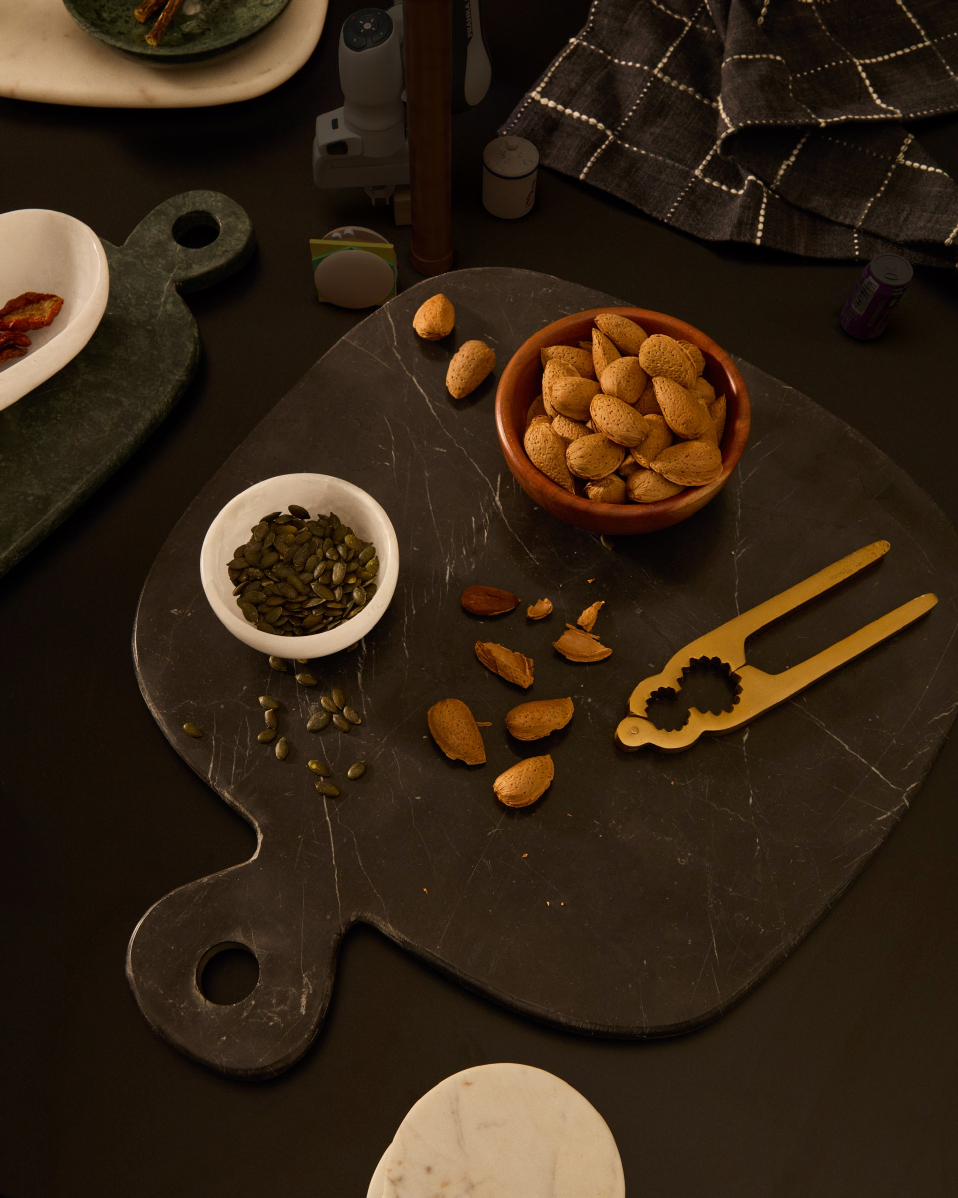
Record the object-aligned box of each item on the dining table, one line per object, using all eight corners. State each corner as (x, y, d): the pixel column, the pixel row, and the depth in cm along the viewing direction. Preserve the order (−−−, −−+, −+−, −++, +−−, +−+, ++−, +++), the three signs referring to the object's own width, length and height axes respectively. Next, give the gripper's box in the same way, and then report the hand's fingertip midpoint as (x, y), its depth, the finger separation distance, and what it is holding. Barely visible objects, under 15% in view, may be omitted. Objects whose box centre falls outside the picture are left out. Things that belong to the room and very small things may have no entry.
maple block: (391, 198, 161) (390, 173, 156) (428, 195, 161) (427, 170, 157) (395, 225, 158) (394, 200, 154) (432, 222, 159) (432, 197, 154)
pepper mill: (408, 245, 156) (392, -91, 111) (450, 242, 157) (452, -94, 111) (412, 277, 153) (398, -54, 108) (455, 274, 154) (459, -57, 108)
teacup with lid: (537, 220, 159) (544, 161, 149) (482, 221, 159) (484, 162, 148) (531, 168, 165) (537, 107, 154) (477, 169, 164) (479, 108, 154)
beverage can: (882, 346, 150) (916, 290, 139) (836, 338, 151) (866, 282, 140) (883, 311, 153) (916, 254, 142) (838, 303, 154) (868, 246, 143)
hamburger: (400, 276, 153) (396, 216, 143) (395, 317, 150) (391, 259, 139) (324, 271, 153) (314, 211, 143) (317, 312, 150) (307, 254, 139)
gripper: (442, 109, 147) (442, 184, 159) (305, 117, 145) (316, 192, 158) (447, 138, 144) (446, 212, 157) (308, 147, 142) (319, 221, 155)
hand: (380, 202), depth 157 cm, fingers closed
